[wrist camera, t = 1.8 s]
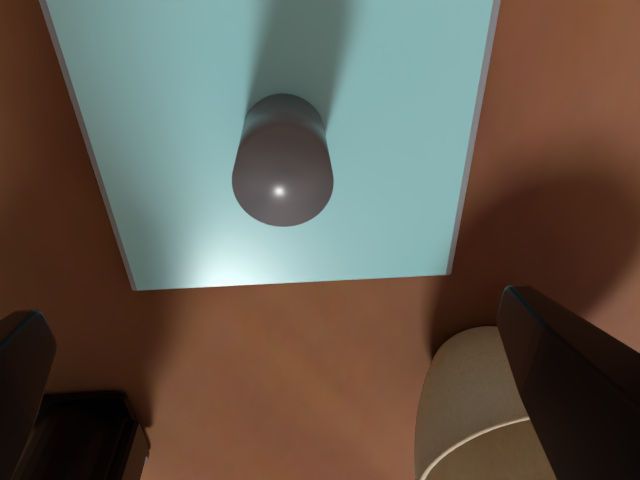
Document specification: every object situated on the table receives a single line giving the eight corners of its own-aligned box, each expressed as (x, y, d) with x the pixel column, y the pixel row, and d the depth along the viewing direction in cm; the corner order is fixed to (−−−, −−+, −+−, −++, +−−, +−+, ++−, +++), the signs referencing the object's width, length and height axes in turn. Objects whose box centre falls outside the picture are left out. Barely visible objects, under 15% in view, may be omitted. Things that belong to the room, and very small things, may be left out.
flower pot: (420, 278, 22) (469, 402, 16) (599, 301, 24) (702, 422, 18) (368, 405, 28) (390, 534, 22) (517, 417, 29) (575, 540, 23)
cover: (140, 281, 21) (107, 359, 17) (25, -98, 13) (-84, -112, 9) (441, 266, 21) (475, 338, 18) (503, -107, 14) (587, -123, 10)
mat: (134, 285, 21) (132, 290, 21) (7, -118, 13) (-1, -120, 13) (448, 269, 22) (450, 274, 22) (518, -127, 14) (523, -128, 13)
